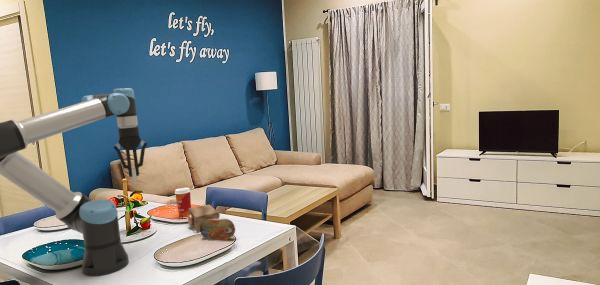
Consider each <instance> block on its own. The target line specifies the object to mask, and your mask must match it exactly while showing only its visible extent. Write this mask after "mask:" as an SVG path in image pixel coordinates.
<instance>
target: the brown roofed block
mask: <svg viewBox="0 0 600 285" xmlns="http://www.w3.org/2000/svg"><path fill="white" fill-rule="evenodd" d="M216 211H217V212H218V214H219V218H220V217H221V216H220V215H221V214H220V211H219V210H216ZM187 217H188V218H187V222H188V226H189V227H193V226H192V225H194V221H193V216H192V214H188V215H187Z"/></svg>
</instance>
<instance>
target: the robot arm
mask: <svg viewBox="0 0 600 285" xmlns="http://www.w3.org/2000/svg"><path fill="white" fill-rule="evenodd" d="M80 101H81V102H78V103H75V104H72V105H68V106H65V107H63V108H58V109H55V110H51V111H49V112H45V113H41V114H38V115H35V116H32V117H28V118H24V119H21V120H14V119H10V120H6V121H1V122H0V175H1V176H2V177H4V178H5V179H7V180H8V181H9V182H11V183H13V184H14V185H16V186H17V187H18V188H20V189H21V190H23V191H24V192H26V193H27V194H29V195H30V196H32V197H33V198H34V199H36V200H38V201H39V202H41V203H42V204H44V205H45V206H47V207H48V208H49V209H50V210H53V211H54V212H55V218H57V220H59V221H61V222H62V223H64V224H65V225H66V227H67V228H69V229H70V230H72V231H76V232H78V233H80V234H82V239H83V245H84V254H83V259H82V263H81V271H82V274H83V275H86V276H91V277H93V276H94V277H95V276H104V275H108V274H111V273H115V272H117V271H120V270H121V269H123V268H125V267H126V266H128V264H129V262H130V261H129V254H128V253H127V251H126V250H125V247H124V245H123V244H122V240H121V233H120V224H119V216H118V214H119V213H118V210H117V209H118V208H117V205H116V203H115V202H114V201H112V200H109V199H93V200H92V199H90V198H89V197H88V196H86V194H83V193H82V192H80V191H75V192H74V191H73V190H71V189H69V188H68V187H67V186H65V185H64V184H62V183H61V182H60V181H58V180H57V179H55V178H54V177H53V176H51V175H50V174H48V173H47V172H46V171H44V169H42V168H40V167H39V166H37V165H36V164H35V163H33V162H32V161H31V160H29V159H28V158H27V157H25V156H24V155H23V154H21V153H20V151H23V150H25V149H27V147H28V145H30V144H32V143H37V142H39V141H42V140H45V139H47V138H48V139H49V138H50V137H53V136H57V135H58V134H59V135H60V134H62V133H65V132H68V131H70V130H73V129H77V128H80V127H83V126H85V125H89V124H91V123H94V122H97V121H100V120H102V119H107V118H109V117H112V116H115V115H116V123H117V127H118V138H119V140H118V142H117V143H116V144H114V145H113V147H112V148H113V149H114V150H115V151H116V153H117V155H118V157H119V161H120V163H121V165H122V167H123V169H127V171H128V176H129V177H130V178H131V179H132V184H133V186H136V185H138V178H137V177H139V176H140V170H139V168H140V167H142V166H143V165H144V159H145V158H144V157H145V151H146V147H147V146H148V142H147V141H144V140H142V139H141V137H140V129H139V126H138V125H139V123H138V115H137V106H136V96H135V92H134V89H133V88H132V87H127V88H126V87H124V88H114V89H113V93H105V94H103V93H102V94H89V95H84V96H82V98H81V100H80ZM139 145H140V147H141V148H140V155H139V161H138V154H137V149H138V148H139ZM121 148H122V149H123V150H125V154H126V162H127V164H126V162H125V159H124V157H123V155H122V153H121V150H120V149H121ZM131 150H132V155H133V163H134V167H132V160H131V153H130V151H131Z"/></svg>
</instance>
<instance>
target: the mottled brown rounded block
mask: <svg viewBox="0 0 600 285" xmlns="http://www.w3.org/2000/svg"><path fill="white" fill-rule="evenodd" d="M199 233H200V234H201V236H202V237H203V238H204V239H206V240H208V241H209V240H211V241H228V240H230V239H232V237H233V236H235V233H236V227H235V224H234V222H233V221H232V220H230V219H228V218H219V219H207V220H205V221H203V222H202V223H201V225H200V232H199Z"/></svg>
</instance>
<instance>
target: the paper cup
mask: <svg viewBox="0 0 600 285" xmlns="http://www.w3.org/2000/svg"><path fill="white" fill-rule="evenodd" d="M191 192H192V191H191V189H190V187H181V188H176V189H175V190H174V194H175V199H176V206H177V210H178V216H179V218H180V217H182V218H183V217H187V215H188V214H189V210H188V208H192V204H191V203H192V202H191V201H192V200H191Z"/></svg>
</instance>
